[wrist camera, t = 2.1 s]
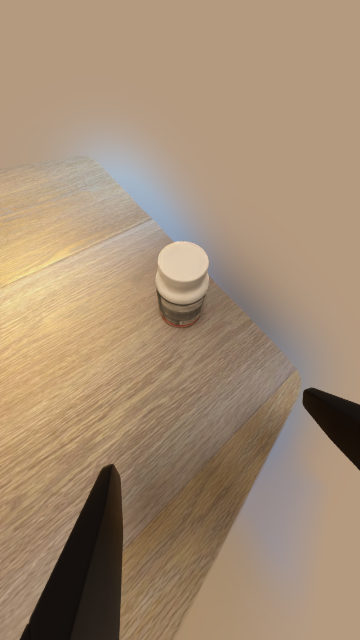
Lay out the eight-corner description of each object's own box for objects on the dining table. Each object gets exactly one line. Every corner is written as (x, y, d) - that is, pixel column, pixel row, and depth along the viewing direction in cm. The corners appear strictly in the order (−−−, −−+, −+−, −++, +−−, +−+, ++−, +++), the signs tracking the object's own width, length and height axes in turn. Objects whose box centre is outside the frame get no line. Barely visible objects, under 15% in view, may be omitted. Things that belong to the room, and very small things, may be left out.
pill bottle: (168, 287, 28) (165, 230, 19) (205, 299, 27) (221, 245, 18) (153, 321, 25) (142, 274, 16) (193, 334, 25) (205, 293, 16)
